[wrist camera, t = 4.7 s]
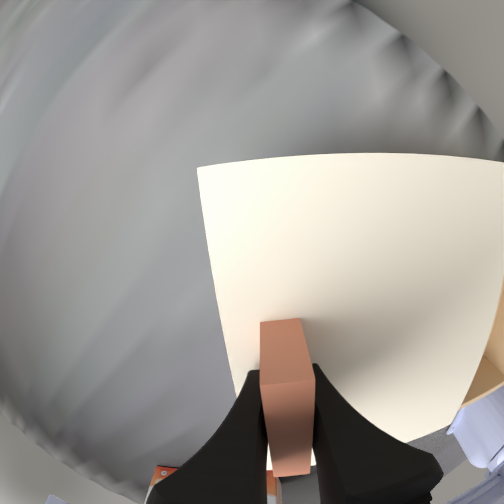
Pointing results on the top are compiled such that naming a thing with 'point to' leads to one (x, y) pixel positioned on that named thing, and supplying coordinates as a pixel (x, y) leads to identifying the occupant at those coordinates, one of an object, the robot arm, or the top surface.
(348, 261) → the lid
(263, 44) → the top surface
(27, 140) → the top surface
